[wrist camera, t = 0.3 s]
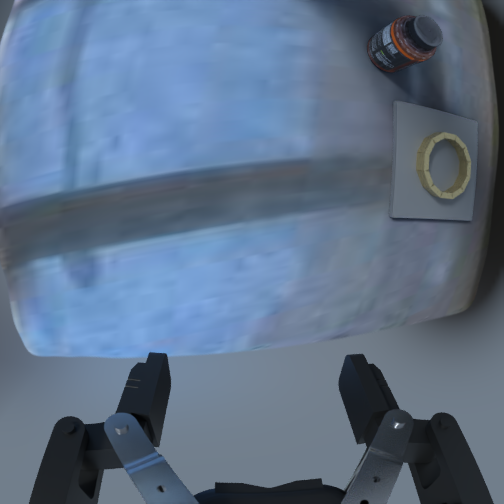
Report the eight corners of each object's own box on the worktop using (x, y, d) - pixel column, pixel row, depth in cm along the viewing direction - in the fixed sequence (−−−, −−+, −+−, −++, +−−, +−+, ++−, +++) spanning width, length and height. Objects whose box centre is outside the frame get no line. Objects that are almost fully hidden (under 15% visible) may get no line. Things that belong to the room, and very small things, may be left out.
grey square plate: (393, 101, 36) (396, 100, 35) (473, 121, 37) (477, 121, 36) (388, 215, 41) (392, 217, 40) (467, 219, 42) (471, 220, 41)
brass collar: (417, 128, 36) (425, 128, 34) (463, 138, 37) (471, 139, 35) (414, 194, 39) (422, 196, 37) (460, 198, 40) (468, 200, 38)
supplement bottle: (407, 50, 33) (454, 30, 23) (395, 81, 35) (444, 65, 24) (372, 27, 32) (414, -2, 21) (359, 58, 34) (401, 33, 23)
